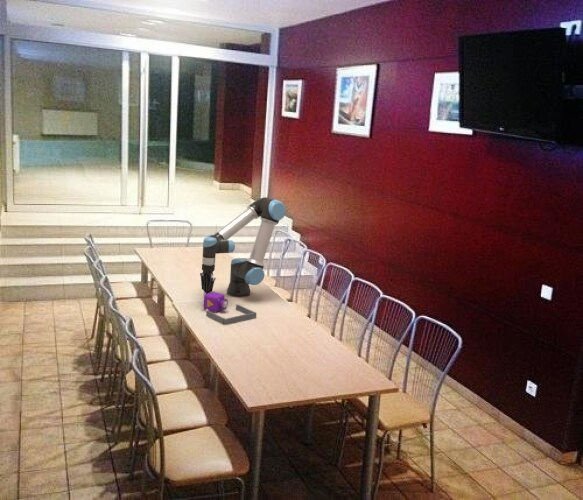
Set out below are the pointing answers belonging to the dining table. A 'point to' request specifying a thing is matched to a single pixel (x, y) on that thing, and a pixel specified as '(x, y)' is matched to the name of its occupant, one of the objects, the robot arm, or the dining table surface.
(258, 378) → the dining table surface
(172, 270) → the dining table surface
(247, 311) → the gray bracket frame
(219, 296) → the toy camera
